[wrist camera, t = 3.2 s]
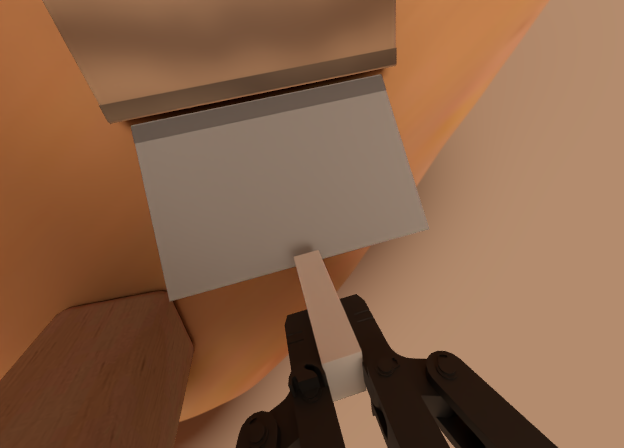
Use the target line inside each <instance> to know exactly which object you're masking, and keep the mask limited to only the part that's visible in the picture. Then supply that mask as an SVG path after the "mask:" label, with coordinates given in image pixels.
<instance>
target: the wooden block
mask: <svg viewBox="0 0 624 448" xmlns="http://www.w3.org/2000/svg"><path fill="white" fill-rule="evenodd" d="M193 353H194V347H193V344H192V342H191V340H190V338H189V336H188V333H187V331H186V329H185V327H184V325H183V323H182V320H181V318H180V316H179V314H178V312H177V310H176V308H175V305H174V303H173V301H170V302H169V297H168V293H167V292H166V291H156V292H150V293H145V294H140V295H135V296H129V297H124V298H119V299H113V300H108V301H103V302H97V303H92V304H87V305H82V306H76V307H71V308H68V309H66V310H64V311H62V312H60V313H59V314H57V315H56V316H55V317H54V318H53V319H52V321H51V322H50V323H49V324H48V325H47V326H46V328H45V329H44V330H43V331H42V332H41V333H40V335H39V336H38V337H37V338H36V339H35V341H34V342H33V343H32V344H31V345H30V346H29V348H28V349H27V350H26V351H25V352H24V353H23V355H22V356H21V357H20V358H19V359H18V360H17V362H16V363H15V364H14V365H13V366H12V367H11V369H10V370H9V371H8V372H7V373H6V375H5V376H4V377H3V378H2V379H1V380H0V448H173V447H174V443H175V438H176V433H177V428H178V423H179V419H180V414H181V410H182V405H183V400H184V395H185V391H186V386H187V381H188V376H189V372H190V367H191V362H192V357H193Z"/></svg>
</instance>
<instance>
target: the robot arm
mask: <svg viewBox="0 0 624 448" xmlns="http://www.w3.org/2000/svg"><path fill="white" fill-rule="evenodd" d="M294 260H295V264H296V268H297V272H298V276H299V280H300V283H301V287H302V291H303V295H304V299H305V302H306V306H307V310H304V311H300V312H297V313H294V314H290V315H287V319H286V322H285V331H286V338H287V344H288V351H289V358H290V365H291V374H290V376H289V383H288V386H289V388H290V392H289V394H288V396H287V397H286V399H284V400H283V401H282V402H281V403H280V404H279V405H278V406H276V407H275V408H274V409H272V410H271V411H270V412H264V411H260V412H257V413H254V414H253V415H251V416H250V417H249V418H248V419H247V420H246V421H245V423H244V424H243V425H242V427H241V430H240V433H239V436H238V440H237V445H236V448H345V444H344V441H343V437H342V434H341V429H340V426H339V422H338V419H337V415H336V411H335V407H334V403H333V402H334V401H337V400H340V399H343V398H346V397H349V396H352V395H355V394H358V393H360V392H364V391H366V388H367V390H368V393H369V395H370V398H371V407H372V413H373V416H376V418H377V421H378V423H379V426H380V429H381V431H382V434H383V436H384V439H385V442H386V444H387V447H388V448H450V447H449V445H448V443H447V442H446V440H445V438H444V436H443V434H442V433H441V431H442V432H443V433H444V435H445V436H446V437H447V438H448V440H449V441H450V442H451V443H452V445H453V446H454V447H455V448H558V447H557V446H556V445H555V444H553V443H552V442H551V441H550V440H549V439H548V438H547V437H546V436H545V435H543V434H542V433H541V432H540V431H539V430H538V429H537V428H536V427H535V426H534V425H532V424H531V423H530V422H529V421H528V420H527V419H526V418H525V417H524V416H523V415H521V414H520V413H519V412H518V411H517V410H516V409H515V408H514V407H513V406H511V405H510V404H509V403H508V402H507V401H506V400H505V399H504V398H503V397H502V396H500V395H499V394H498V393H497V392H496V391H495V390H494V389H493V388H491V387H490V386H489V385H488V384H487V383H486V382H485V381H484V380H483V379H482V378H481V377H479V376H478V375H477V374H476V373H475V372H474V371H473V370H471V368H469V367H468V366H467V365H466V364H465V363H464V362H463V361H462V360H461V359H459V358H458V357H457V356H455V355H454V354H452V353H449V352H446V351H436V352H434V353H431V354H430V355H429V357H428V358H427V359H413V358H406V357H403V356H400V355H398V354H397V353H395V352H394V351H393V350H392V349H391V348H390V346H389V345H388V343H387V341H386V339H385V338H384V336H383V334H382V332H381V330H380V328H379V327H378V325H377V323H376V321H375V319H374V318H373V316H372V314H371V312H370V311H369V308H368V306H367V304H366V303H365V301H364V300H363V299H362V298H361V297H359V296H358V295H357V294H355V295H352V296H349V297H345V298H342V299H339V297H338V295H337V292H336V290H335V288H334V285H333V283H332V281H331V278H330V276H329V274H328V271H327V269H326V267H325V264H324V262H323V260H322V257H321V255H320V252H319V250H316V251H313V252H309V253H306V254H302V255H298V256H295V257H294ZM439 428H440V429H439ZM440 430H441V431H440Z"/></svg>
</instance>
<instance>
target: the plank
mask: <svg viewBox="0 0 624 448" xmlns="http://www.w3.org/2000/svg"><path fill="white" fill-rule="evenodd" d="M131 130H132V134H133V139H134V143H135V146H136V151H137V155H138V160H139V164H140V169H141V174H142V178H143V183H144V187H145V192H146V196H147V201H148V206H149V210H150V215H151V219H152V224H153V228H154V233H155V238H156V242H157V247H158V251H159V256H160V261H161V265H162V270H163V274H164V279H165V283H166V288H167V293H168V297H169V302H170V301H174V300H178V299H181V298H185V297H188V296H192V295H195V294H199V293H203V292H206V291H210V290H213V289H217V288H220V287H224V286H228V285H231V284H235V283H238V282H242V281H245V280H249V279H253V278H256V277H260V276H263V275H267V274H270V273H274V272H278V271H281V270H285V269H288V268H292V267H295V266H296V264H295V260H294V257H295V256H298V255H302V254H306V253H309V252H313V251H316V250H319V252H320V255H321V257H322V259H324V258H328V257H331V256H335V255H338V254H342V253H345V252H349V251H353V250H356V249H360V248H363V247H367V246H370V245H374V244H377V243H381V242H385V241H388V240H392V239H395V238H399V237H403V236H406V235H410V234H413V233H416V232H420V231H424V230H428V229H429V227H428V223H427V220H426V217H425V214H424V211H423V208H422V204H421V201H420V198H419V195H418V191H417V188H416V185H415V182H414V179H413V175H412V172H411V169H410V166H409V163H408V159H407V156H406V153H405V150H404V147H403V143H402V140H401V137H400V134H399V131H398V127H397V124H396V121H395V118H394V115H393V111H392V108H391V105H390V102H389V99H388V95H387V92H386V88H385V84H384V81H383V78H382V75H381V74H380V75H375V76H370V77H365V78H360V79H355V80H350V81H345V82H341V83H336V84H331V85H326V86H321V87H316V88H311V89H307V90H302V91H297V92H292V93H287V94H282V95H277V96H272V97H268V98H263V99H258V100H253V101H248V102H243V103H238V104H233V105H229V106H224V107H219V108H214V109H209V110H204V111H199V112H194V113H190V114H185V115H180V116H175V117H170V118H165V119H160V120H156V121H151V122H146V123H141V124H136V125H131Z"/></svg>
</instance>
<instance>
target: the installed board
mask: <svg viewBox="0 0 624 448" xmlns="http://www.w3.org/2000/svg"><path fill="white" fill-rule="evenodd" d="M42 1H43V3H44V5H45V6H46V8H47V10H48V12H49V14H50V15H51V17H52V19H53V21H54V23H55V25H56V26H57V28H58V30H59V32H60V34H61V36H62V37H63V39H64V41H65V43H66V45H67V47H68V48H69V50H70V52H71V54H72V56H73V57H74V59H75V61H76V63H77V65H78V67H79V68H80V70H81V72H82V74H83V76H84V78H85V79H86V81H87V83H88V85H89V87H90V89H91V90H92V92H93V94H94V96H95V98H96V99H97V101H98V103H99V107H100V108H101V110H102V112H103V114H104V116H105V117H106V119H107V121H108V122H109V123H110V124H111V123H116V122H121V121H126V120H131V119H136V118H141V117H146V116H151V115H156V114H161V113H166V112H171V111H176V110H180V109H185V108H190V107H195V106H200V105H205V104H210V103H215V102H220V101H225V100H230V99H235V98H240V97H245V96H249V95H254V94H259V93H264V92H269V91H274V90H279V89H284V88H289V87H294V86H299V85H304V84H309V83H314V82H318V81H323V80H328V79H333V78H338V77H343V76H348V75H353V74H358V73H363V72H368V71H373V70H378V69H383V68H388V67H392V66H396V0H42Z"/></svg>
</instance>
